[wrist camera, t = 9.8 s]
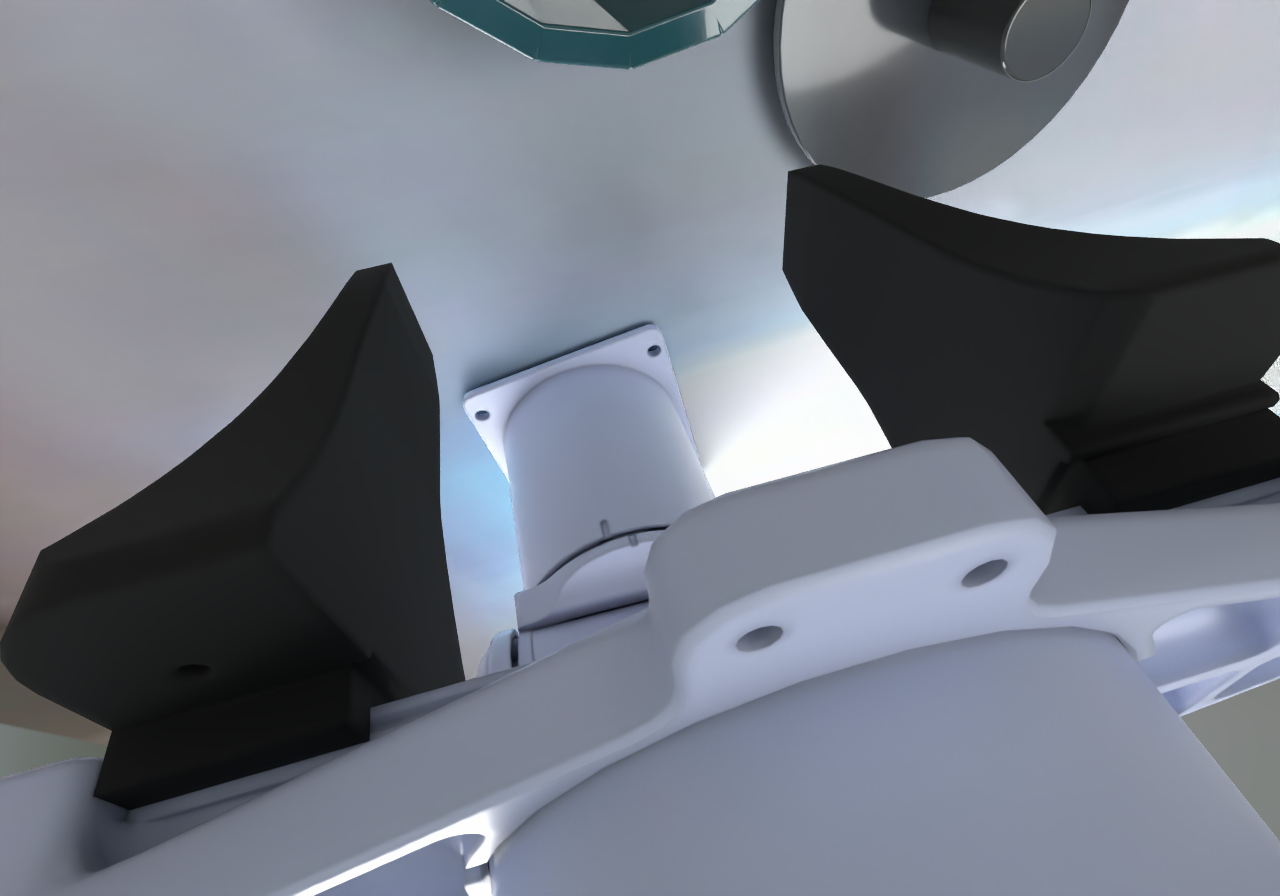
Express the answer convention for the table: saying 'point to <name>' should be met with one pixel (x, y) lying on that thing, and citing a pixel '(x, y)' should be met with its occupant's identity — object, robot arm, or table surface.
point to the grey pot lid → (930, 81)
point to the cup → (599, 27)
